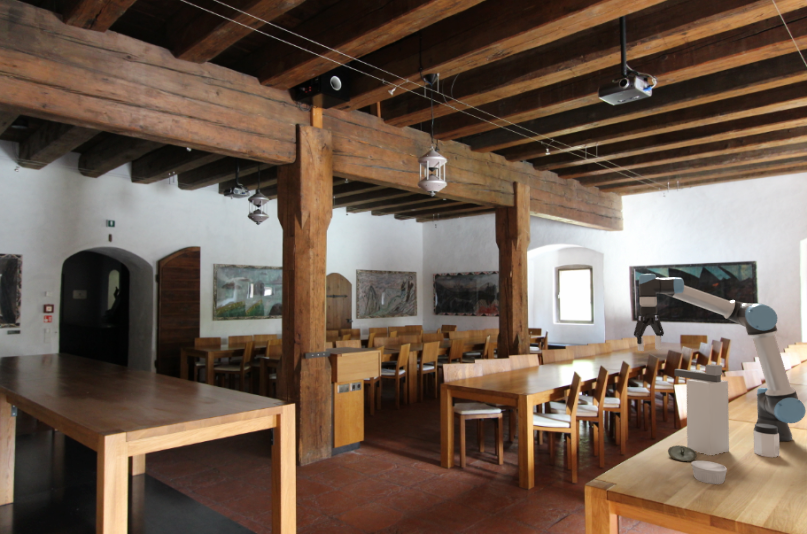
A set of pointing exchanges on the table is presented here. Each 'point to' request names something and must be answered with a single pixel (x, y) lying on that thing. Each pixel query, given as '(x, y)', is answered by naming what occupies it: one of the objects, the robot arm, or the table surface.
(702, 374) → the handle bar
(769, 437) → the jar
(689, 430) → the stand
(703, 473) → the ramekin
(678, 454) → the lid
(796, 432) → the table surface
